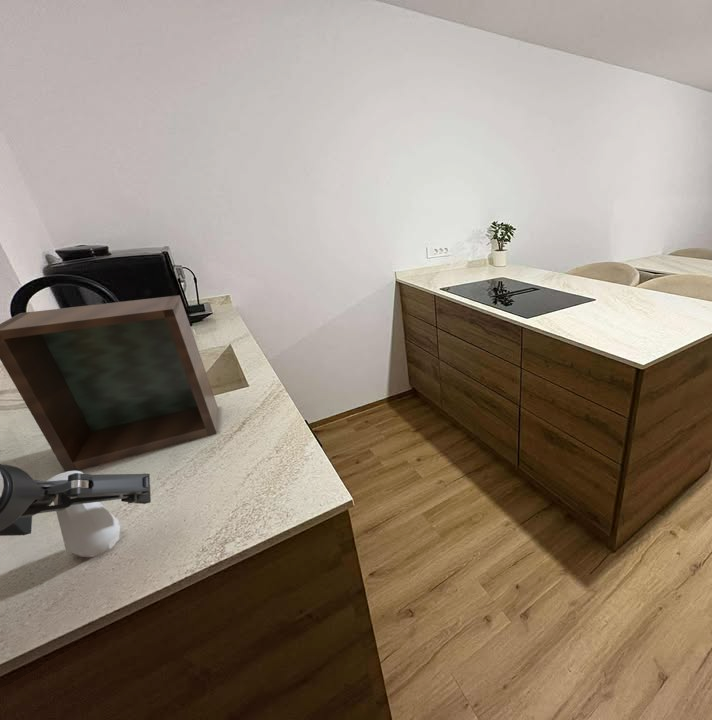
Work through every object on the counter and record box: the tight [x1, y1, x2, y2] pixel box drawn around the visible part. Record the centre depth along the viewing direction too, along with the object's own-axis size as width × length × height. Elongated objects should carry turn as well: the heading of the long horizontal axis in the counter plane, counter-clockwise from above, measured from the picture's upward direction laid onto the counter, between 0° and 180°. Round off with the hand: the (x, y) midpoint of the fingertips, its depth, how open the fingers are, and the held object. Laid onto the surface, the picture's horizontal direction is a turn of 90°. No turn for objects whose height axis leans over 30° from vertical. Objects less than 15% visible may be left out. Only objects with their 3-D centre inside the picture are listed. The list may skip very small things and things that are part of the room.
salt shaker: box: [46, 470, 121, 558], centre depth 53 cm, size 6×6×13 cm
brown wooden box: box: [0, 294, 219, 472], centre depth 76 cm, size 24×13×28 cm, turn 122°
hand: (90, 508), depth 56 cm, fingers open, 13 cm apart
